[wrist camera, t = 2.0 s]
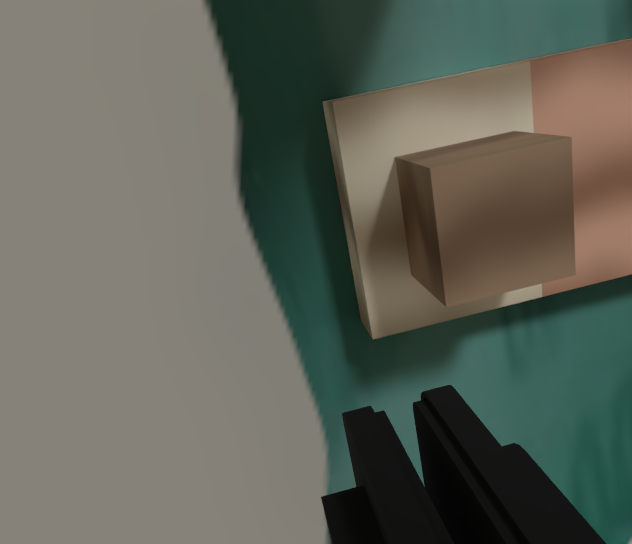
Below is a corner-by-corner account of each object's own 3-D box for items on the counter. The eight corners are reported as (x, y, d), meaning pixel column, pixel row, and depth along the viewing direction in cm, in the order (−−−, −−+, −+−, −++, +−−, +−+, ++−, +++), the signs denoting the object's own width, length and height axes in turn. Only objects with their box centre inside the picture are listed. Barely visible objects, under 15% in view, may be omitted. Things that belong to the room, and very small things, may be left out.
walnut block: (394, 156, 25) (429, 168, 21) (514, 130, 26) (571, 136, 22) (411, 275, 27) (446, 307, 23) (521, 248, 28) (575, 275, 24)
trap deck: (322, 101, 26) (332, 101, 24) (806, 2, 29) (858, -7, 27) (361, 320, 30) (372, 339, 28) (784, 216, 33) (827, 224, 31)
